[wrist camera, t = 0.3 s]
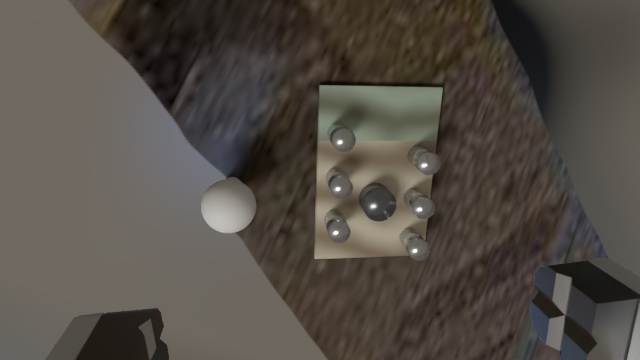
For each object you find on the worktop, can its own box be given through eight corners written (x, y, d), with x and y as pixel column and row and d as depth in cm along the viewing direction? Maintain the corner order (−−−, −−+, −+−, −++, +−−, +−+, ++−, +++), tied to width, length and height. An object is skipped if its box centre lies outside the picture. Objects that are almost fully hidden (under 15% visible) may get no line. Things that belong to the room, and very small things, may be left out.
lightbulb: (241, 153, 55) (237, 179, 45) (265, 192, 57) (266, 225, 47) (200, 175, 55) (186, 206, 45) (224, 213, 57) (216, 251, 47)
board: (319, 84, 54) (319, 85, 53) (440, 86, 56) (442, 87, 55) (314, 256, 61) (314, 258, 60) (421, 252, 63) (423, 254, 62)
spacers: (327, 122, 54) (333, 129, 50) (430, 123, 56) (444, 129, 52) (322, 248, 60) (327, 264, 55) (417, 245, 62) (429, 260, 57)
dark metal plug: (359, 182, 57) (364, 190, 55) (391, 182, 58) (397, 189, 55) (357, 213, 59) (362, 221, 56) (388, 212, 59) (395, 221, 57)
